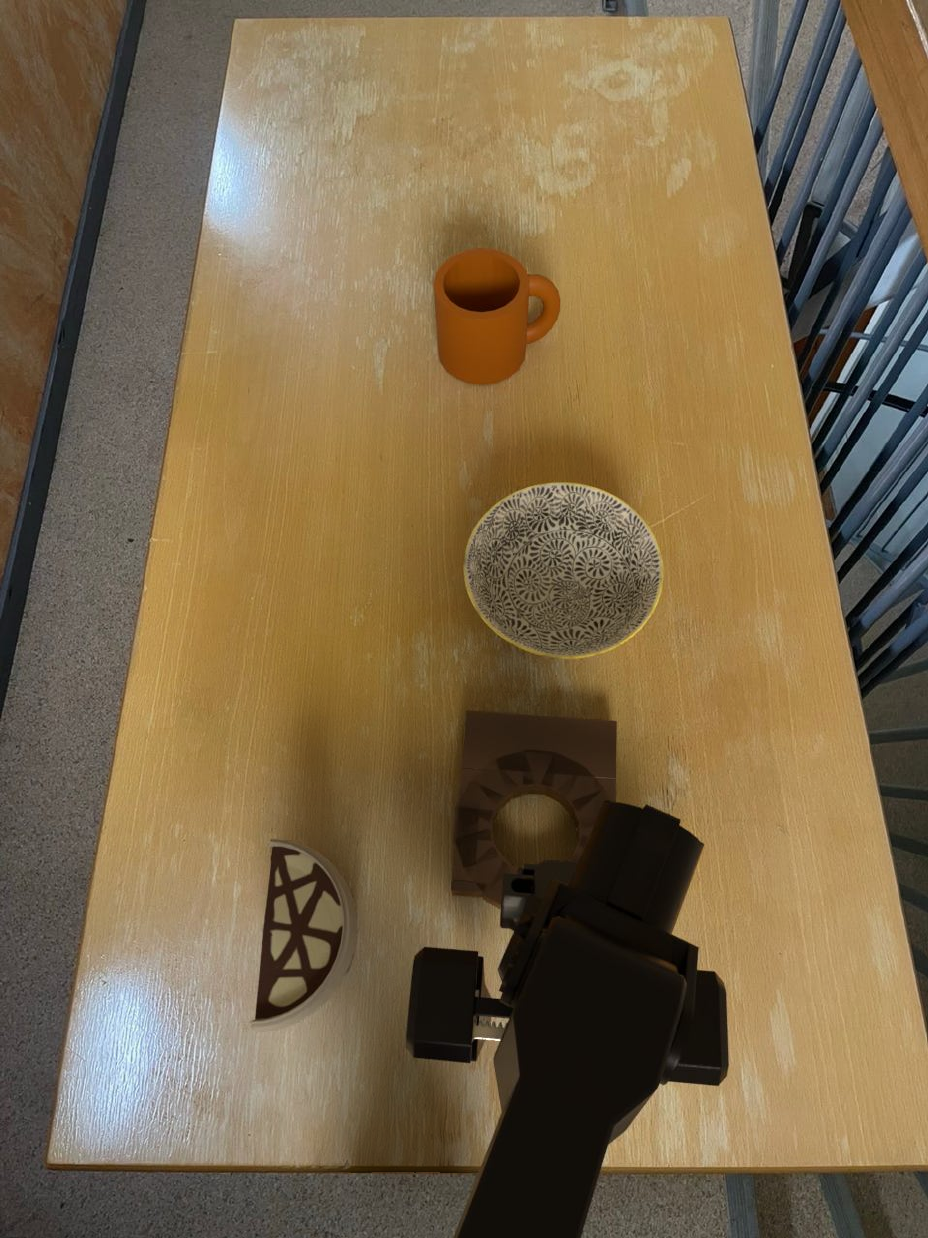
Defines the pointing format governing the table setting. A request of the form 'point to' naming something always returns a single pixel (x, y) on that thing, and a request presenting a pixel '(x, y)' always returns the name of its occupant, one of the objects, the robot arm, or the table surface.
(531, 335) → the mug
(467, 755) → the holder
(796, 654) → the table surface
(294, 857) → the food container
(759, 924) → the table surface
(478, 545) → the bowl
